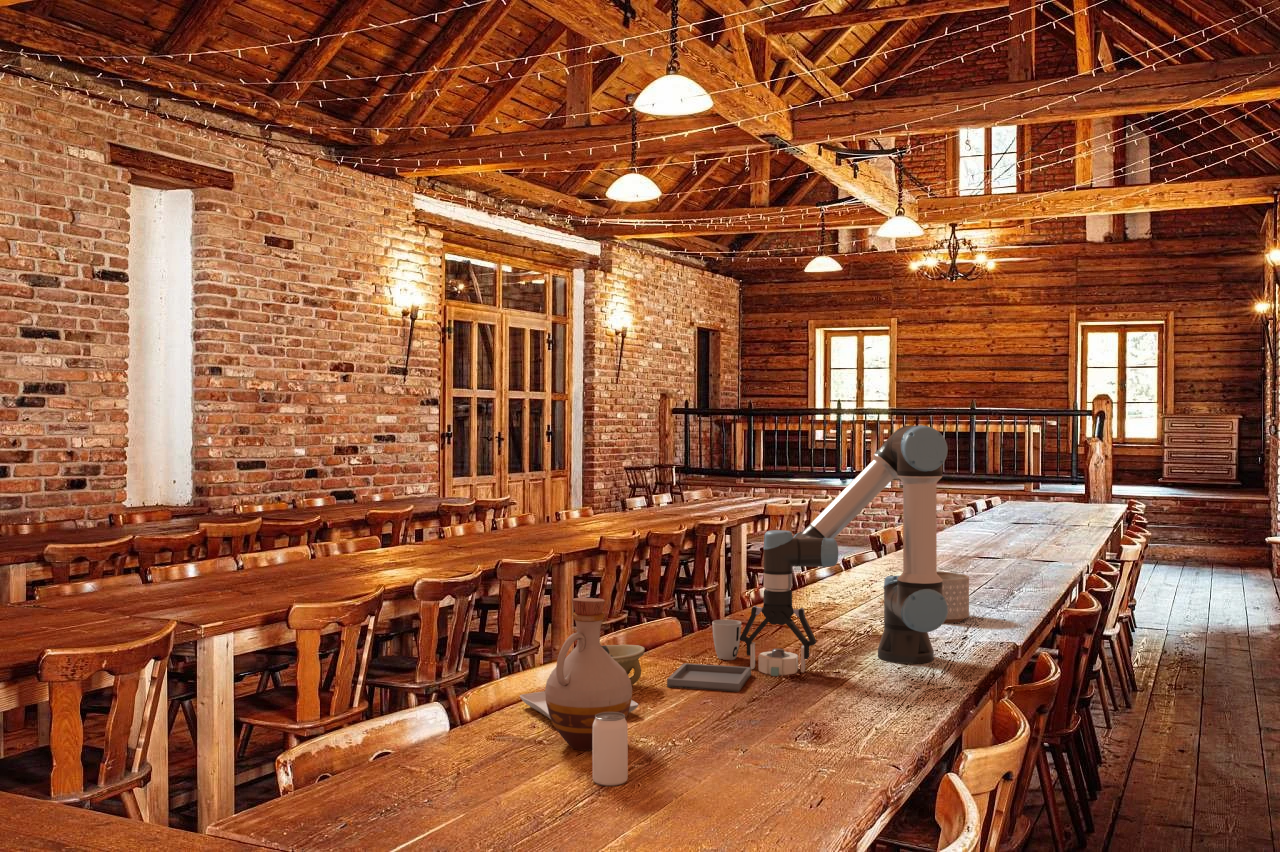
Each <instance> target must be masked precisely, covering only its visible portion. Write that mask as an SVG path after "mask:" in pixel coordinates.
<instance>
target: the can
mask: <svg viewBox="0 0 1280 852" xmlns="http://www.w3.org/2000/svg"><path fill="white" fill-rule="evenodd" d="M628 731H629V730H628V722H627V719H626V720H625V715H624V714H622V713H619V712H602V713H598V714H596V715H595V720H594V722H593V736H592V750H591V751H592V781H593V782H594V783H595V784H596V785H599V786H603V787H616V786H621V785H624V784H625V783H626V782H627V781H628V777H629V776H628V775H629V773H628V765H629V764H628V763H629V762H628V761H629V760H628V759H629V757H628V755H629V753H628V751H629V749H628V748H629V747H628V746H629V745H628V743H629V741H628V736H629V735H628Z"/></svg>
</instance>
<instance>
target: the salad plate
mask: <svg viewBox="0 0 1280 852" xmlns="http://www.w3.org/2000/svg"><path fill="white" fill-rule="evenodd" d="M519 698H520V699H521V700H522V702H523V703H524V704H525V705H527V706H529V707H531V708H532V709H533V710H535V711H537V712H539V713H540V714H542V715H543V716H545V717H547V718H548V719H549V720H551V718H550V715H549V712H548V708H547V704H546V697H545V690H543V691H539V692H538V691H537V692H531V693H524V694H523V693H522V694H520V695H519ZM638 707H639V703H637V702H636V701H634V700H633V699H631V704H630V709H629V713H631V712H633V711H634V710H636V709H637V708H638Z"/></svg>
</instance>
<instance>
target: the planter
mask: <svg viewBox="0 0 1280 852" xmlns="http://www.w3.org/2000/svg"><path fill="white" fill-rule="evenodd" d="M937 575H938V576H939V577H940V578H941V579H942V580H943V597H944V598H945V600H946V603H947V606H948V614H947V617H946V619H945V621H944V623H943V624H945V623H946V624H948V623H950V624H951V623H959V622H962V621H963V620H964V619H967V618H969V617H970V576H969V575H967V574H964V573H959V572H952V571H951V572H949V571H948V572H947V571H937Z"/></svg>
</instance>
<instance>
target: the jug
mask: <svg viewBox="0 0 1280 852" xmlns="http://www.w3.org/2000/svg"><path fill="white" fill-rule="evenodd" d="M571 601H572V605H573V609H574V612H572V618H573V620H574V621H575V626H576V632H573V633H572V634H570V635H569V636H568V637H567V638H566V639H565V641H564V643H563V644H562V646H561V649H560V650H559V653H558V656H557V659H556V665H555V668H554V669H553V670H552V671H551V673H550V674H549V676H548V677H547V680H546V684H545V689H544V691H545V697H546V704H547V708H548V712H549V715H550V718H551V719H550V718H549V719H550V720H551V723H552V725H553V727H554V729H556V730H557V733H558V734H559V735H560V736H561V737H562V739H564V741H565V742H566V744H567V745H568V746H569V747H570V748H572V749H574V750H578V751H592V736H593V722H594V720H595V715H596V714H598V713H602V712H619V713H622V714H624V715H625V720H626V721H627V719H628V715H629V713H630V712H629V709H630V704H631V700H633V699H632V698H633V696H632V695H633V687H632V686H633V684H632V685H631V680H630V676H629V674H628V675H627V673H626V671H625V670H624V669H623V668H622V667H621V666H620V665H619V664H618V663H617V662H616V661H615V660H614V659H613V658H612V657H611V656H610V655H609V654H608V653H607V652H606V651H605V650H604V649H603V648H602V647H601V646H602V644H601V641H600V640H601V629H602V628H601V627H602V622H603V620H604V618H605V612H603V610H604V605H605V602H606V600H605V599H603V598H596V597H594V598H593V597H575V598H572V600H571ZM575 641H577V642H576V646H575V647H574V648H573V650H571V651H570V652H569V650H570V648H571V646H572V645H573V643H574V642H575ZM568 652H569V654H568ZM567 654H568V655H567Z"/></svg>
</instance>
